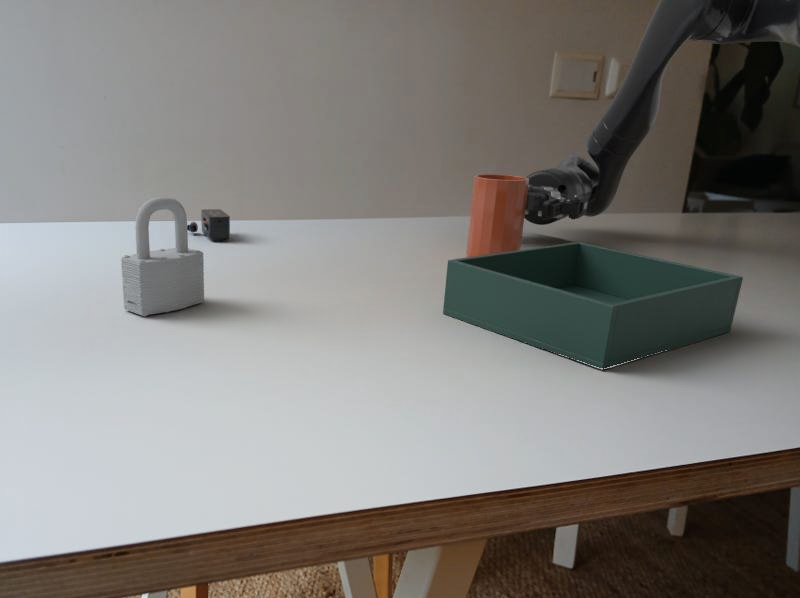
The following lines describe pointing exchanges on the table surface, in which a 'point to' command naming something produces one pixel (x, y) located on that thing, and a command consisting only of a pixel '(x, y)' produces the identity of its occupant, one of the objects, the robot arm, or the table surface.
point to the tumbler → (496, 214)
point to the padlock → (162, 266)
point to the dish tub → (591, 300)
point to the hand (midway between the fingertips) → (512, 207)
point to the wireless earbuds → (213, 225)
